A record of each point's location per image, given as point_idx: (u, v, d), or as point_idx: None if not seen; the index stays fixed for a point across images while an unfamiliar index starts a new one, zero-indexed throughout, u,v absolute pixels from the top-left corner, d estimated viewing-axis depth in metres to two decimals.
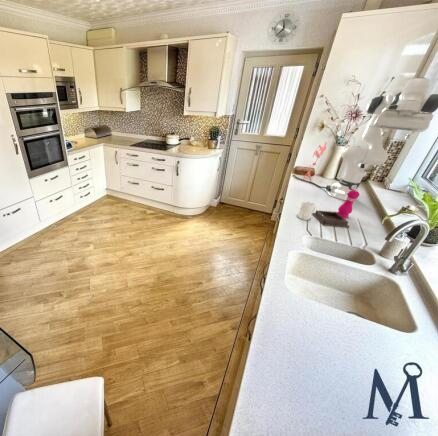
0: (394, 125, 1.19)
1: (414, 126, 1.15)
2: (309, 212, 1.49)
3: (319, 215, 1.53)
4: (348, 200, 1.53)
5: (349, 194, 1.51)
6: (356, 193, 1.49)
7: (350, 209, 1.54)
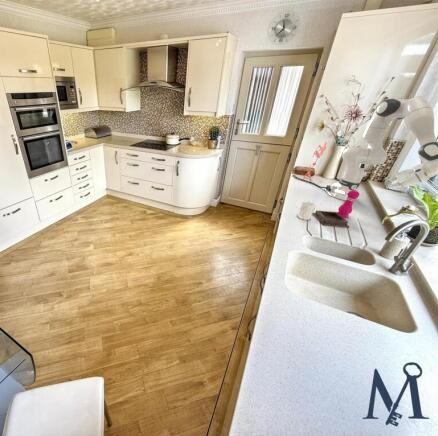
0: None
1: None
2: (309, 212, 1.49)
3: (319, 215, 1.53)
4: (348, 200, 1.53)
5: (349, 194, 1.51)
6: (356, 193, 1.49)
7: (350, 209, 1.54)
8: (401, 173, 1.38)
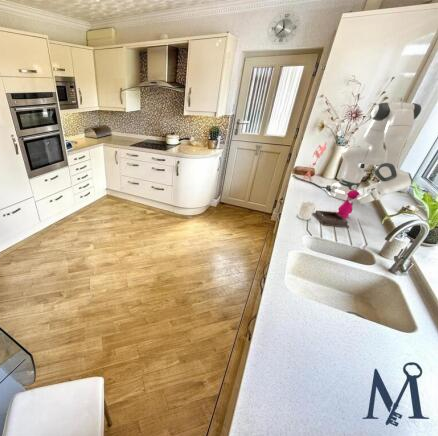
0: None
1: None
2: (309, 212, 1.49)
3: (319, 215, 1.53)
4: (348, 200, 1.53)
5: (349, 194, 1.51)
6: (356, 193, 1.49)
7: (350, 209, 1.54)
8: (361, 190, 1.52)
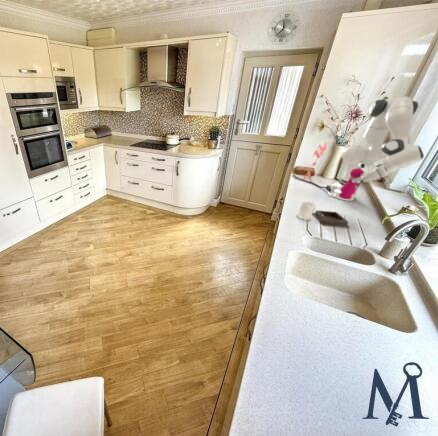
0: None
1: None
2: (309, 212, 1.49)
3: (319, 215, 1.53)
4: (351, 179, 1.40)
5: (352, 173, 1.38)
6: (360, 171, 1.36)
7: (353, 189, 1.41)
8: (365, 168, 1.39)
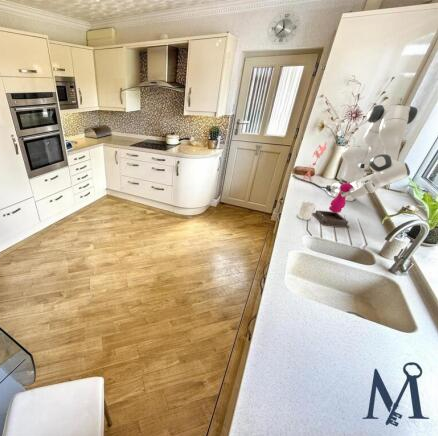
0: None
1: None
2: (309, 212, 1.49)
3: (319, 215, 1.53)
4: None
5: (342, 187, 1.41)
6: (349, 186, 1.38)
7: (343, 203, 1.43)
8: (354, 183, 1.42)
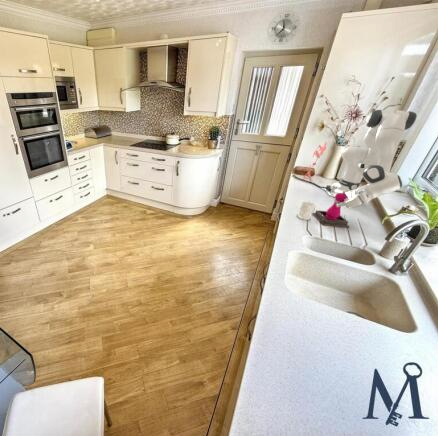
0: None
1: None
2: (309, 212, 1.49)
3: (319, 215, 1.53)
4: (336, 203, 1.46)
5: (337, 197, 1.44)
6: (344, 196, 1.42)
7: (338, 212, 1.46)
8: (349, 193, 1.45)
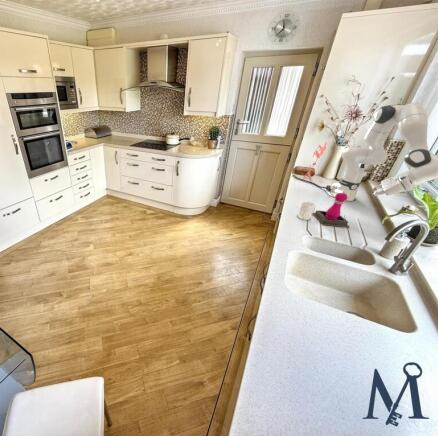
0: None
1: None
2: (309, 212, 1.49)
3: (319, 215, 1.53)
4: (336, 203, 1.46)
5: (337, 197, 1.44)
6: (344, 196, 1.42)
7: (338, 212, 1.46)
8: (387, 180, 1.33)
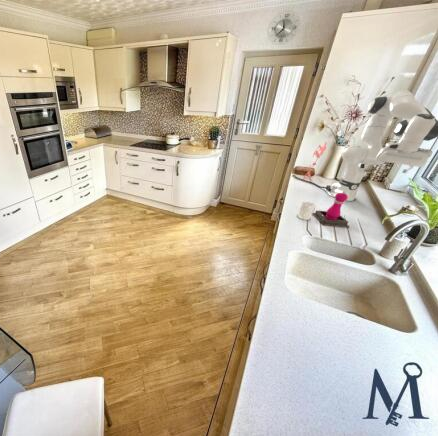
0: (393, 161, 1.31)
1: (411, 164, 1.28)
2: (309, 212, 1.49)
3: (319, 215, 1.53)
4: (336, 203, 1.46)
5: (337, 197, 1.44)
6: (344, 196, 1.42)
7: (338, 212, 1.46)
8: None
